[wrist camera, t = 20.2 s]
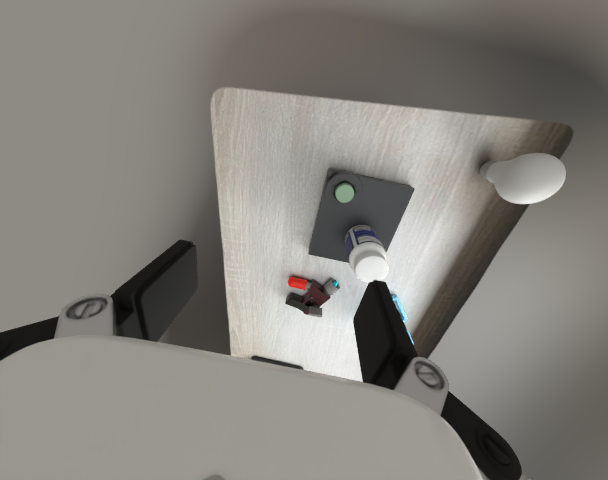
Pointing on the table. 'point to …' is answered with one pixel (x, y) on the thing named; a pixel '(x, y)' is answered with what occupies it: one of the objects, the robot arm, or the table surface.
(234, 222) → the table surface
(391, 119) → the table surface
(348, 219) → the dark grey button base
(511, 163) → the lightbulb
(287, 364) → the phone
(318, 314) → the toy gun
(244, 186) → the table surface
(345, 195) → the button
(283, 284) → the table surface
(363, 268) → the pill bottle
